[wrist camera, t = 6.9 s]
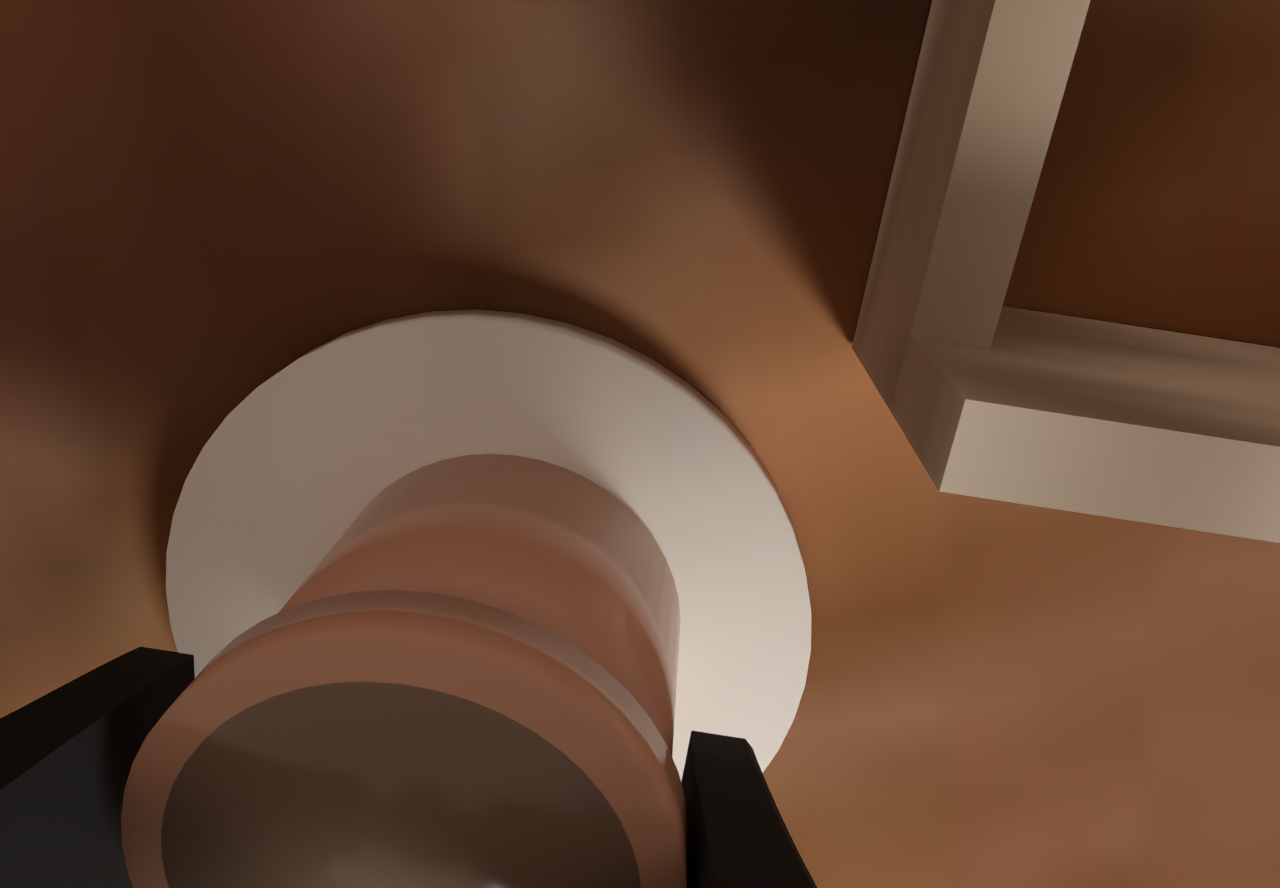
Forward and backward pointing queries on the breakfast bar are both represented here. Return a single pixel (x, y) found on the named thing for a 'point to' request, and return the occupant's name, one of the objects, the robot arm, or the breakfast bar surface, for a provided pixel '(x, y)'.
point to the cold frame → (1042, 314)
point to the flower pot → (436, 706)
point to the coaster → (509, 425)
